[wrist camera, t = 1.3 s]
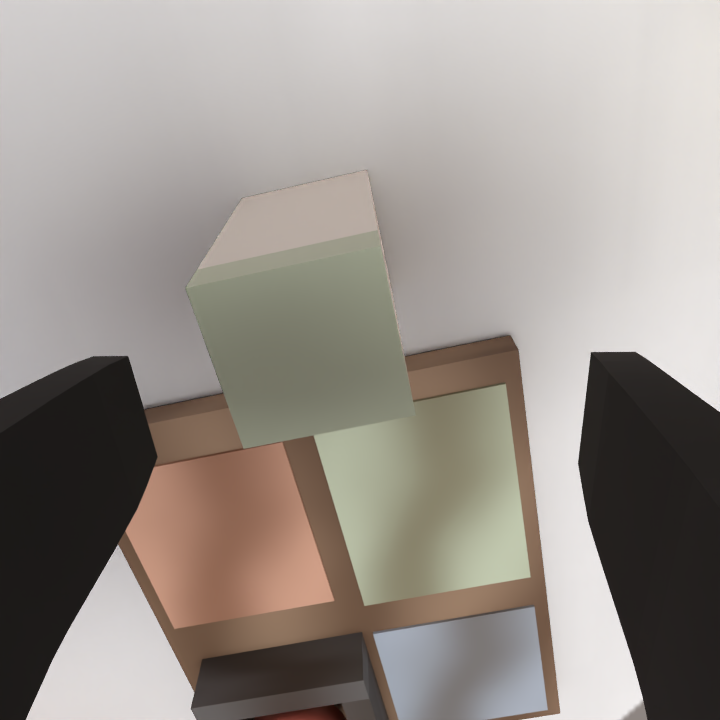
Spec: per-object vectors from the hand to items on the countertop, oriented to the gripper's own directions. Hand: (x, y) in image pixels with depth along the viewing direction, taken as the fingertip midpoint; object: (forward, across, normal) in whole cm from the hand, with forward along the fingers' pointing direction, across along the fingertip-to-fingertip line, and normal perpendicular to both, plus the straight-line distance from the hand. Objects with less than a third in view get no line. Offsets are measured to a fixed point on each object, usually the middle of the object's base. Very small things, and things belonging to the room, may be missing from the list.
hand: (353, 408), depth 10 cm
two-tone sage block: (+9, +2, 0) cm, 9 cm away
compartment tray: (+8, +2, +13) cm, 15 cm away
